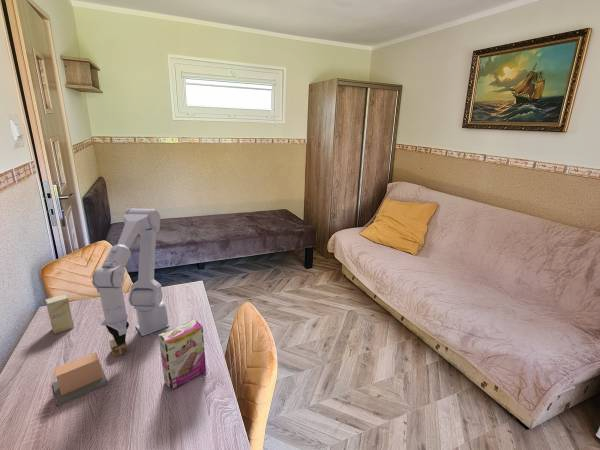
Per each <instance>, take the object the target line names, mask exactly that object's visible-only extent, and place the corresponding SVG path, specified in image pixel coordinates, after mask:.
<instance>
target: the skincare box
mask: <svg viewBox="0 0 600 450" xmlns="http://www.w3.org/2000/svg"><path fill="white" fill-rule="evenodd" d="M69 302H70V301H69V298H68V295H67V293H64V294H59V295H56V296H53V297H49V298H45V304H46V308H47V312H48V316H49V320H50V321H49V322H50V326H51V329H52V333H53V334H54V335H55V334H57V333H61V332H64V331H67V330H70V329H73V328H75V325H74V319H73V315H72V310H71V307H70V303H69Z"/></svg>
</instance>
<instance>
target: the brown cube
mask: <svg viewBox="0 0 600 450" xmlns="http://www.w3.org/2000/svg"><path fill="white" fill-rule="evenodd" d="M109 346H110V351H111V354H112V356H113V358H117V357H118V356H122V355H124V354H126V353H128V352H129V351H128V347H127V346H128V345H127V341H126V340H125V343H124V344H121V345H119V346H118V345H117V344H116V342H115V340H114V338H112V339H110V340H109Z"/></svg>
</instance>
